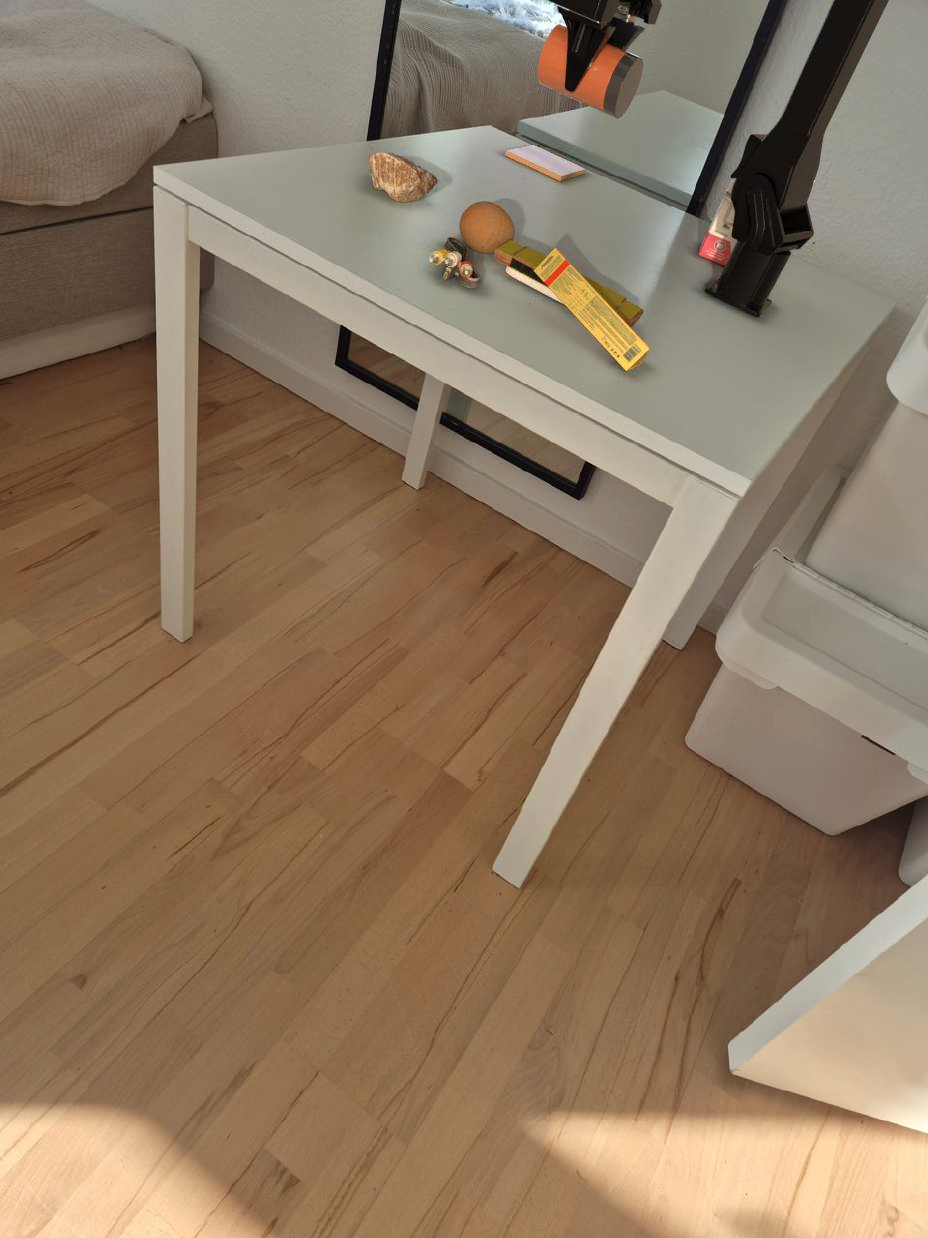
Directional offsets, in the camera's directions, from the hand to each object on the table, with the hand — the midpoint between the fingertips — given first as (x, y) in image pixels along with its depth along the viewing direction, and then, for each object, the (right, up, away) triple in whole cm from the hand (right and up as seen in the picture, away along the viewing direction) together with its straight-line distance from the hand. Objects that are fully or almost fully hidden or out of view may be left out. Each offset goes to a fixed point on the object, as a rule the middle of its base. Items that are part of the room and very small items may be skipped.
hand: (579, 89), depth 94 cm
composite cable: (-14, -28, -18) cm, 36 cm away
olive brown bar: (-3, -28, -18) cm, 34 cm away
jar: (0, -1, +1) cm, 1 cm away
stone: (-21, -18, -9) cm, 29 cm away
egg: (-13, -23, -17) cm, 31 cm away
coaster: (-2, +1, +17) cm, 17 cm away
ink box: (+19, -17, +7) cm, 27 cm away
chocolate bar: (-2, -34, -24) cm, 42 cm away
